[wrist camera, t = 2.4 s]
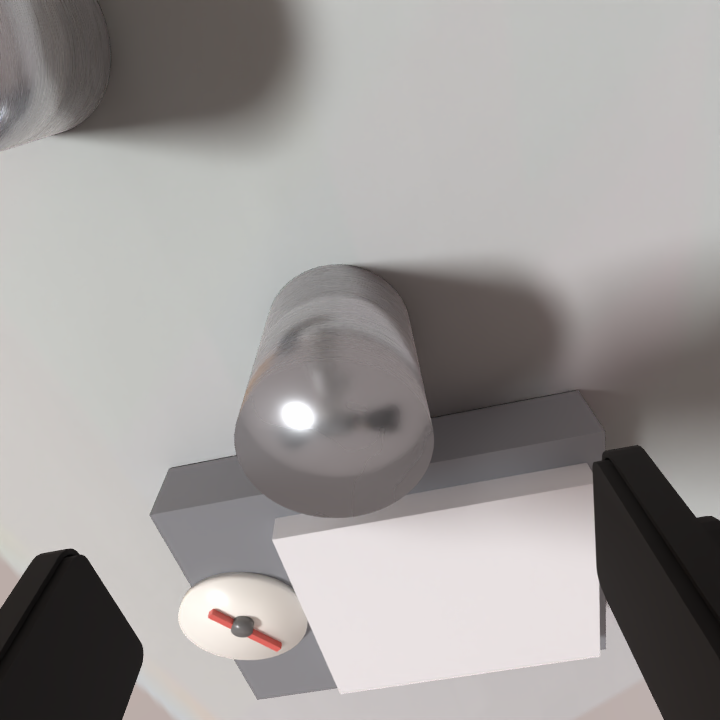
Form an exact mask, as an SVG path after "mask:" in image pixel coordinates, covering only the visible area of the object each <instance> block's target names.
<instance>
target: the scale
mask: <svg viewBox="0 0 720 720" xmlns="http://www.w3.org/2000/svg"><path fill="white" fill-rule="evenodd" d="M431 422H432V426H433V434H434V449H433V453H432V458H431V461H430V463H429V466H428V468H427V470H426V472H425V474H424V475H423V477H422V478H421V480H420V481H419V482H418V483H417V485H416V486H415V487H414V488H413V489H412V490H411V491H410V492H409V493H408V494H406V495H405V496H404V497H402V498H401V499H400V500H398V501H396V502H395V503H393V504H391V505H389V506H387V507H385V508H383V509H381V510H378V511H375V512H372V513H369V514H365V515H361V516H356V517H348V518H322V517H315V516H309V515H305V514H302V513H298V512H295V511H292V510H290V509H287V508H285V507H283V506H281V505H279V504H277V503H275V502H274V501H272V500H271V499H269V498H267V497H266V496H265V495H264V494H262V493H261V492H260V491H259V490H258V489H257V488H256V487H255V486H254V485H253V484H252V483H251V482H250V480H249V479H248V478H247V476H246V475H245V473H244V471H243V470H242V468H241V466H240V464H239V461H238V458H237V456H233V457H228V458H222V459H217V460H212V461H207V462H202V463H196V464H191V465H186V466H181V467H175V468H170V469H169V470H168V472H167V475H166V477H165V480H164V482H163V484H162V487H161V489H160V491H159V494H158V496H157V498H156V501H155V503H154V506H153V508H152V510H151V513H150V517H151V519H152V520H153V522H154V524H155V525H156V527H157V529H158V530H159V532H160V534H161V536H162V537H163V539H164V541H165V542H166V544H167V546H168V548H169V549H170V551H171V553H172V554H173V556H174V558H175V560H176V561H177V563H178V565H179V566H180V568H181V570H182V572H183V573H184V575H185V577H186V578H187V580H188V582H189V583H190V585H191V588H190V589H189V590H188V591H187V592H186V594H185V596H184V597H183V600H182V603H181V606H180V609H179V615H178V619H179V624H180V627H181V629H182V631H183V633H184V634H185V635H186V637H187V638H188V639H189V640H190V641H191V642H193V643H194V644H195V645H196V646H198V647H200V648H201V649H203V650H205V651H207V652H209V653H212V654H215V655H217V656H221V657H225V658H230V659H234V660H235V662H236V664H237V666H238V667H239V669H240V671H241V672H242V674H243V676H244V678H245V679H246V681H247V683H248V684H249V686H250V688H251V689H252V691H253V693H254V695H255V696H256V698H257V700H259V699H266V698H273V697H280V696H287V695H293V694H300V693H307V692H314V691H321V690H328V689H335V688H338V690H339V692H340V694H345V693H352V692H359V691H366V690H373V689H380V688H387V687H393V686H400V685H407V684H414V683H421V682H428V681H435V680H442V679H449V678H456V677H463V676H469V675H476V674H483V673H490V672H497V671H504V670H511V669H518V668H525V667H532V666H539V665H545V664H552V663H559V662H566V661H573V660H580V659H587V658H594V657H600V650H602V649H606V597H605V595H604V593H603V591H602V589H601V586H600V583H599V580H598V575H597V569H596V546H595V521H594V496H593V471H592V467H593V462H596V461H602V454H603V452H604V451H605V430H604V429H603V427H602V426H601V424H600V423H599V421H598V420H597V418H596V417H595V415H594V414H593V412H592V410H591V409H590V407H589V406H588V404H587V403H586V401H585V400H584V398H583V397H582V395H581V394H580V392H579V391H578V390H576V391H571V392H566V393H561V394H556V395H550V396H545V397H540V398H535V399H530V400H524V401H519V402H514V403H509V404H504V405H498V406H493V407H488V408H483V409H478V410H472V411H467V412H462V413H457V414H452V415H446V416H441V417H436V418H431Z"/></svg>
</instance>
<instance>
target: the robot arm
mask: <svg viewBox="0 0 720 720" xmlns="http://www.w3.org/2000/svg"><path fill="white" fill-rule="evenodd" d="M592 471H593V496H594V521H595V546H596V569H597V575H598V580H599V583H600V586H601V589H602V591H603V593H604V595H605V597H606V600H607V602H608V604H609V606H610V608H611V610H612V612H613V614H614V616H615V618H616V620H617V623H618V625H619V627H620V629H621V631H622V633H623V635H624V637H625V639H626V641H627V643H628V646H629V648H630V650H631V652H632V654H633V656H634V658H635V660H636V662H637V664H638V666H639V668H640V671H641V673H642V675H643V677H644V679H645V681H646V683H647V685H648V687H649V689H650V691H651V694H652V696H653V698H654V700H655V702H656V704H657V706H658V708H659V710H660V712H661V714H662V717H663V719H664V720H720V521H719V520H718V519H716V518H714V517H713V516H705V517H699V518H696V517H695V515H694V514H693V513H692V511H691V510H690V509H689V508H688V506H687V505H686V504H685V502H684V501H683V500H682V498H681V497H680V496H679V495H678V493H677V492H676V491H675V489H674V488H673V487H672V485H671V484H670V483H669V482H668V480H667V479H666V478H665V476H664V475H663V474H662V472H661V471H660V470H659V469H658V467H657V466H656V465H655V463H654V462H653V461H652V459H651V458H650V457H649V456H648V454H647V453H646V452H645V450H644V449H643V448H642V447H641V446H638V445H636V446H630V447H625V448H619V449H614V450H608V451H604V452H603V454H602V461H596V462H593V467H592ZM142 662H143V647H142V644H141V642H140V640H139V639H138V637H137V636H136V634H135V633H134V631H133V629H132V628H131V626H130V625H129V623H128V622H127V620H126V618H125V617H124V615H123V614H122V612H121V611H120V609H119V607H118V606H117V604H116V603H115V601H114V600H113V598H112V597H111V595H110V593H109V592H108V590H107V589H106V587H105V586H104V584H103V582H102V581H101V579H100V578H99V576H98V575H97V573H96V572H95V570H94V568H93V567H92V565H91V564H90V562H89V561H88V559H87V558H86V557H85V556H83V555H80V554H79V553H78V552H77V551H76V550H74V549H64V550H59V551H53V552H48V553H42V554H40V555H38V556H36V557H35V558H34V559H33V561H32V562H31V563H30V565H29V566H28V568H27V569H26V571H25V572H24V574H23V575H22V577H21V578H20V580H19V581H18V583H17V585H16V586H15V588H14V589H13V591H12V592H11V594H10V595H9V597H8V598H7V600H6V601H5V603H4V604H3V606H2V607H1V609H0V720H122V718H123V716H124V713H125V710H126V707H127V705H128V702H129V699H130V695H131V693H132V691H133V688H134V685H135V682H136V680H137V677H138V674H139V671H140V668H141V666H142Z"/></svg>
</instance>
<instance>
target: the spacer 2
mask: <svg viewBox="0 0 720 720" xmlns="http://www.w3.org/2000/svg"><path fill="white" fill-rule="evenodd" d="M234 437H235V450H236V455H237V458H238V461H239V464H240V466H241V468H242V470H243V471H244V473H245V475H246V476H247V478H248V479H249V480H250V482H251V483H252V484H253V485H254V486H255V487H256V488H257V489H258V490H259V491H260V492H261V493H262V494H264V495H265V496H266V497H267V498H269V499H271V500H272V501H274V502H275V503H277V504H279V505H281V506H283V507H285V508H287V509H290V510H292V511H295V512H298V513H302V514H305V515H309V516H315V517H322V518H348V517H356V516H361V515H365V514H369V513H372V512H375V511H378V510H381V509H383V508H385V507H387V506H389V505H391V504H393V503H395V502H396V501H398V500H400V499H401V498H402V497H404V496H405V495H406V494H408V493H409V492H410V491H411V490H412V489H413V488H414V487H415V486H416V485H417V483H418V482H419V481H420V480H421V478H422V477H423V475H424V474H425V472H426V470H427V468H428V466H429V463H430V461H431V458H432V453H433V449H434V434H433V426H432V422H431V417H430V412H429V408H428V403H427V398H426V394H425V389H424V384H423V380H422V375H421V370H420V366H419V361H418V357H417V352H416V347H415V343H414V338H413V333H412V329H411V324H410V319H409V315H408V312H407V309H406V306H405V304H404V302H403V300H402V299H401V297H400V295H399V294H398V293H397V291H396V290H395V289H394V288H393V287H392V286H391V285H390V284H389V283H388V282H387V281H385V280H384V279H383V278H381V277H380V276H378V275H376V274H374V273H372V272H370V271H368V270H365V269H362V268H359V267H355V266H350V265H326V266H320V267H317V268H313V269H310V270H308V271H306V272H304V273H301V274H300V275H298V276H297V277H295V278H293V279H292V280H291V281H290V282H288V283H287V284H286V285H285V286H284V287H283V288H282V289H281V291H280V292H279V293H278V295H277V296H276V298H275V300H274V302H273V304H272V306H271V309H270V312H269V315H268V318H267V321H266V325H265V328H264V332H263V335H262V338H261V342H260V345H259V348H258V352H257V355H256V358H255V362H254V365H253V369H252V372H251V375H250V379H249V382H248V385H247V389H246V392H245V396H244V399H243V402H242V406H241V409H240V412H239V416H238V419H237V423H236V428H235V434H234Z"/></svg>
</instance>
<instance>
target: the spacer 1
mask: <svg viewBox="0 0 720 720" xmlns="http://www.w3.org/2000/svg"><path fill="white" fill-rule="evenodd" d="M110 68H111V48H110V39H109V34H108V30H107V25H106V22H105V19H104V16H103V13H102V10H101V8H100V5H99V3H98V1H97V0H0V152H1V151H4V150H7V149H10V148H13V147H17V146H20V145H23V144H26V143H29V142H32V141H36V140H39V139H42V138H45V137H48V136H52V135H55V134H58V133H61V132H64V131H67V130H70V129H72V128H74V127H75V126H77V125H79V124H81V123H82V122H83V121H84V120H86V119H87V118H88V117H89V116H90V115H91V114H92V113H93V112H94V110H95V109H96V108H97V106H98V105H99V103H100V101H101V100H102V97H103V95H104V93H105V91H106V88H107V84H108V80H109V75H110Z"/></svg>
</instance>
